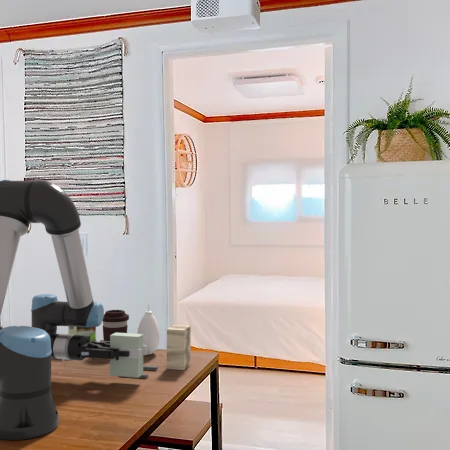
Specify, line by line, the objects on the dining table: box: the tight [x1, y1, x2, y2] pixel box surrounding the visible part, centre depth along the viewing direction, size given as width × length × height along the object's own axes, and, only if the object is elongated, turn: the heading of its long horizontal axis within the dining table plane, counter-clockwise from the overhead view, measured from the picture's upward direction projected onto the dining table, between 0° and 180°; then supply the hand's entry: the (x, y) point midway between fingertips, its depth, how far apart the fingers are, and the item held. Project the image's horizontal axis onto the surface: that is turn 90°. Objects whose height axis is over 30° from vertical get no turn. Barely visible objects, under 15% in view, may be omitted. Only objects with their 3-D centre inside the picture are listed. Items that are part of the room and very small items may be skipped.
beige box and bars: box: [120, 324, 192, 380], centre depth 175 cm, size 18×18×13 cm
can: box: [67, 326, 97, 343], centre depth 202 cm, size 10×10×14 cm
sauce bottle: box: [136, 303, 161, 356], centre depth 195 cm, size 8×8×18 cm
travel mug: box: [102, 309, 130, 341], centre depth 197 cm, size 10×10×15 cm
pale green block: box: [109, 332, 144, 379], centre depth 162 cm, size 4×9×12 cm, turn 77°
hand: (143, 352), depth 161 cm, fingers closed on pale green block, 4 cm apart
